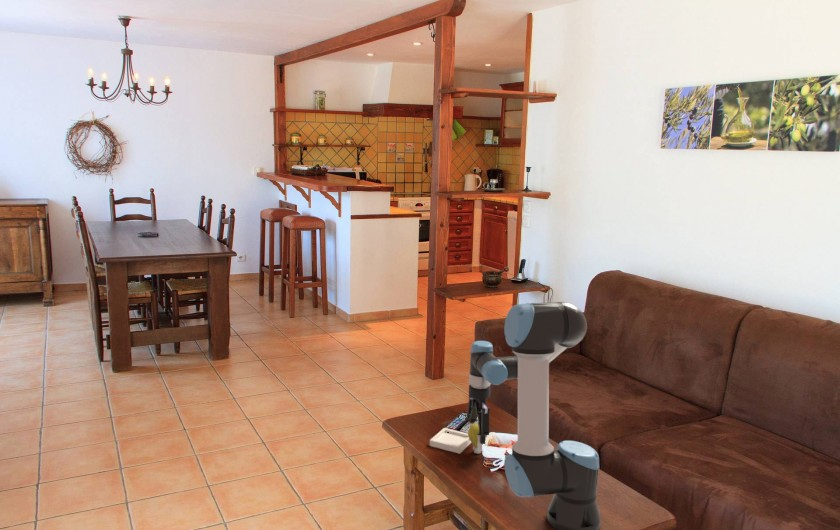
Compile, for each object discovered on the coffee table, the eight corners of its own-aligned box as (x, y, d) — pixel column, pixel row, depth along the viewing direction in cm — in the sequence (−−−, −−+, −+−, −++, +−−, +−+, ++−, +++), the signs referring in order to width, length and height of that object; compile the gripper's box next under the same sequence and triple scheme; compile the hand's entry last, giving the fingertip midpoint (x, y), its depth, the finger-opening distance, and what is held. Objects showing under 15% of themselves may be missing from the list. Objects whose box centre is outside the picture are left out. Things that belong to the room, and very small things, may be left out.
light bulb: (487, 449, 229) (487, 422, 228) (486, 456, 222) (486, 428, 221) (468, 448, 230) (469, 421, 229) (466, 455, 223) (467, 427, 222)
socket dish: (459, 453, 225) (460, 447, 225) (429, 445, 230) (429, 440, 230) (473, 440, 235) (473, 435, 235) (444, 433, 241) (444, 427, 240)
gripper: (501, 395, 213) (497, 458, 218) (478, 373, 233) (475, 431, 237) (480, 397, 211) (477, 460, 216) (459, 375, 230) (456, 433, 235)
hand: (476, 445), depth 227 cm, fingers open, 8 cm apart
